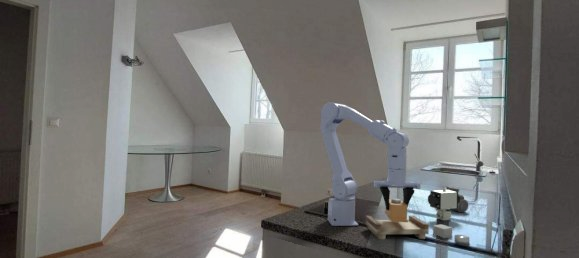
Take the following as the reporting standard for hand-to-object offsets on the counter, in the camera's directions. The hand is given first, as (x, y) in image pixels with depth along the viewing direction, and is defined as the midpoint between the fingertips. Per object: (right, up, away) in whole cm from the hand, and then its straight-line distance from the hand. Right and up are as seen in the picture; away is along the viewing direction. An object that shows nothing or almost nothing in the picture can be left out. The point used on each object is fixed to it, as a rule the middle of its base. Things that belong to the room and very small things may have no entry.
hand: (396, 209), depth 103 cm
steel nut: (+18, -8, -7) cm, 21 cm away
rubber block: (+15, -8, -1) cm, 17 cm away
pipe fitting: (+36, -9, +33) cm, 50 cm away
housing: (0, -3, 0) cm, 3 cm away
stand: (0, -8, 0) cm, 8 cm away
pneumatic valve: (+24, -9, +18) cm, 32 cm away
